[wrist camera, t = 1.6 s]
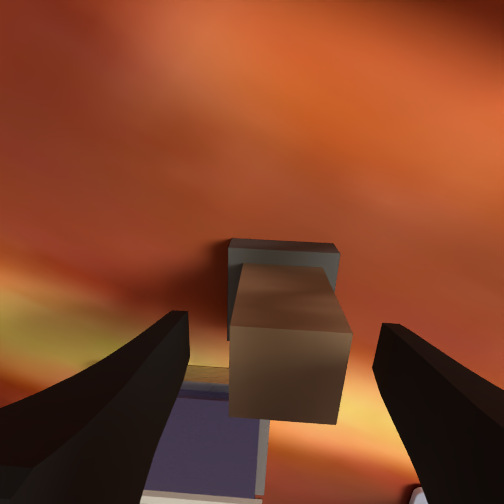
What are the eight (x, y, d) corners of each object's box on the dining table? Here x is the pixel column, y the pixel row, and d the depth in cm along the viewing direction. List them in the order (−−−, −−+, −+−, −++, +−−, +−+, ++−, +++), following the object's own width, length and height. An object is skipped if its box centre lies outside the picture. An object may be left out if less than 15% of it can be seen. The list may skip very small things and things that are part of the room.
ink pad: (272, 371, 17) (272, 395, 15) (264, 475, 20) (263, 506, 18) (104, 360, 17) (87, 382, 16) (121, 464, 20) (108, 492, 19)
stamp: (333, 243, 14) (382, 314, 8) (321, 329, 16) (353, 441, 10) (231, 237, 14) (206, 303, 8) (230, 323, 16) (208, 430, 10)
